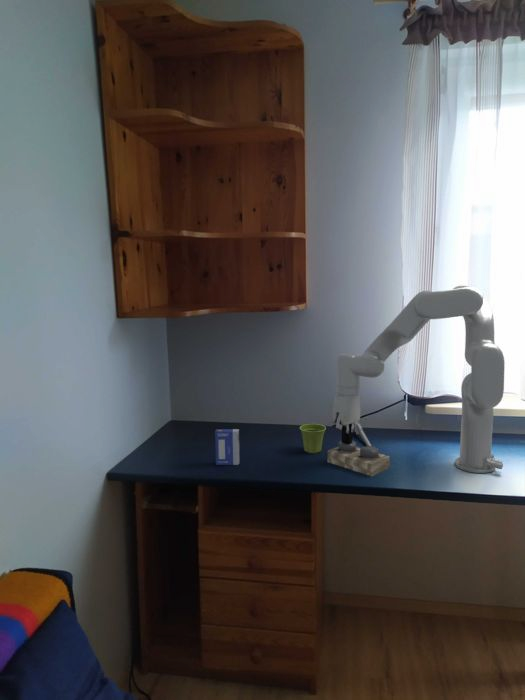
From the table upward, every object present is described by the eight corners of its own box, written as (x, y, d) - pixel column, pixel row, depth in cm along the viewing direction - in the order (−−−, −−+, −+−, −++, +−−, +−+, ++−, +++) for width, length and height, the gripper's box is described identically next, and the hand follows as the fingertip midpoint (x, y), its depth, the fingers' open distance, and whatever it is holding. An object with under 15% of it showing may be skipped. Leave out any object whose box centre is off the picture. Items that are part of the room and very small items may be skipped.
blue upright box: (215, 465, 180) (215, 430, 178) (216, 462, 182) (215, 428, 181) (239, 465, 180) (238, 430, 178) (239, 462, 182) (239, 428, 180)
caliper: (354, 433, 213) (354, 418, 212) (357, 433, 214) (357, 418, 213) (369, 450, 193) (370, 433, 192) (372, 450, 194) (373, 433, 193)
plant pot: (326, 455, 188) (326, 431, 187) (299, 454, 189) (299, 431, 187) (325, 446, 197) (325, 424, 196) (299, 446, 198) (300, 423, 197)
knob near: (382, 468, 175) (382, 449, 174) (371, 472, 171) (371, 453, 170) (366, 463, 180) (367, 445, 179) (356, 468, 175) (356, 449, 174)
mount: (389, 468, 176) (389, 456, 175) (371, 476, 169) (371, 464, 168) (345, 454, 188) (345, 443, 188) (327, 461, 182) (327, 450, 181)
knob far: (359, 461, 182) (359, 442, 181) (348, 465, 178) (349, 447, 177) (345, 456, 186) (345, 439, 185) (334, 461, 182) (334, 443, 181)
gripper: (352, 385, 186) (351, 435, 189) (324, 392, 176) (323, 445, 178) (370, 388, 180) (368, 440, 183) (342, 395, 170) (341, 451, 173)
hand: (346, 442), depth 181 cm, fingers closed
